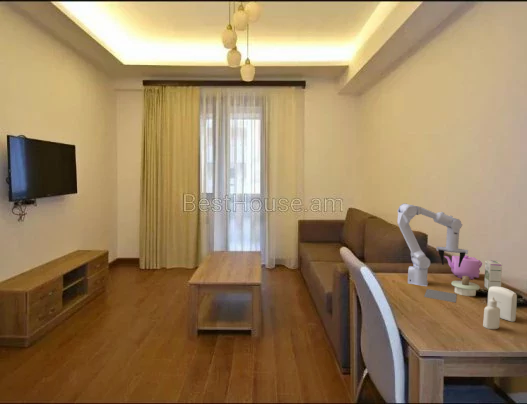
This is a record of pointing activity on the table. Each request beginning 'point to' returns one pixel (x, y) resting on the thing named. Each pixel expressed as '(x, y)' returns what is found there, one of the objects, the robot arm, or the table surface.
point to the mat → (440, 295)
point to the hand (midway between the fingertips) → (451, 265)
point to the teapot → (465, 266)
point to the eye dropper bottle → (491, 315)
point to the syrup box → (492, 274)
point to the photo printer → (504, 302)
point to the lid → (465, 284)
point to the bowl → (465, 292)
